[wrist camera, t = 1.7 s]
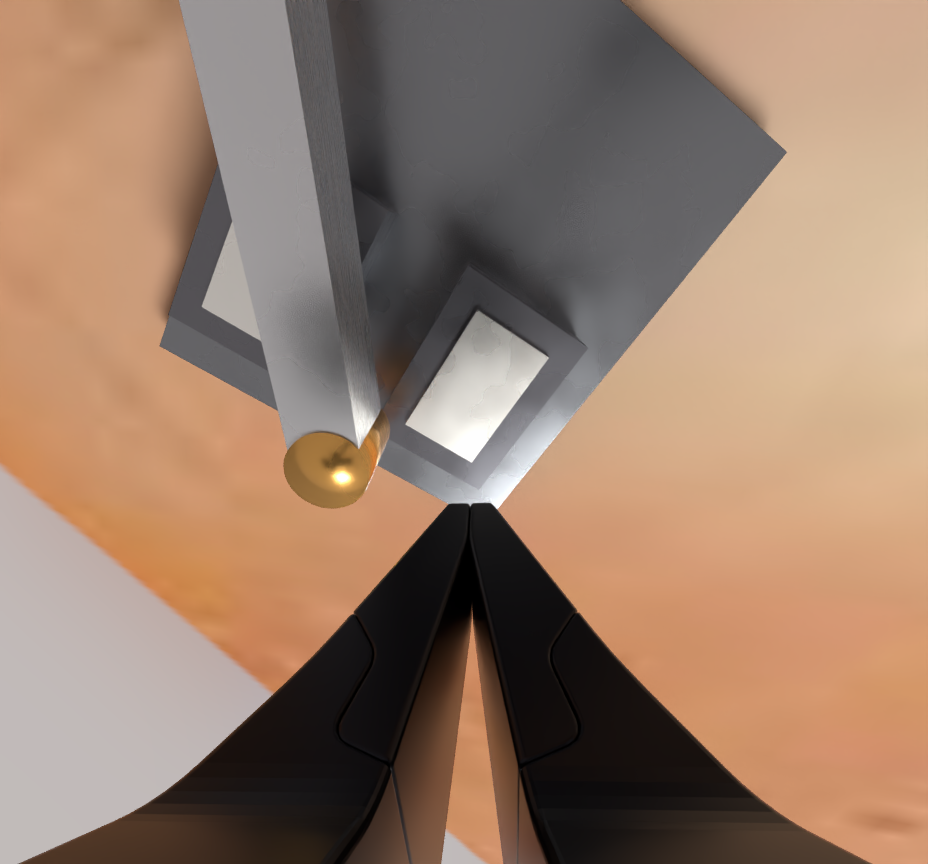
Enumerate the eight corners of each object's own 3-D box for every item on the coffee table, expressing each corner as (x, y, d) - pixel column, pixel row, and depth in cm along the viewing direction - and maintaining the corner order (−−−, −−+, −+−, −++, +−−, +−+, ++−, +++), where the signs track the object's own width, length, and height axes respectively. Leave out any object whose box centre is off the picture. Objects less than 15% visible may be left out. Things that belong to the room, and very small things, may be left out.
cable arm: (169, -339, 8) (2, -652, 5) (290, -353, 8) (185, -682, 5) (327, 458, 15) (293, 509, 13) (393, 456, 15) (373, 507, 12)
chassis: (363, -205, 12) (325, -351, 9) (768, 157, 15) (838, 137, 12) (175, 340, 18) (118, 360, 15) (484, 512, 22) (485, 554, 19)
